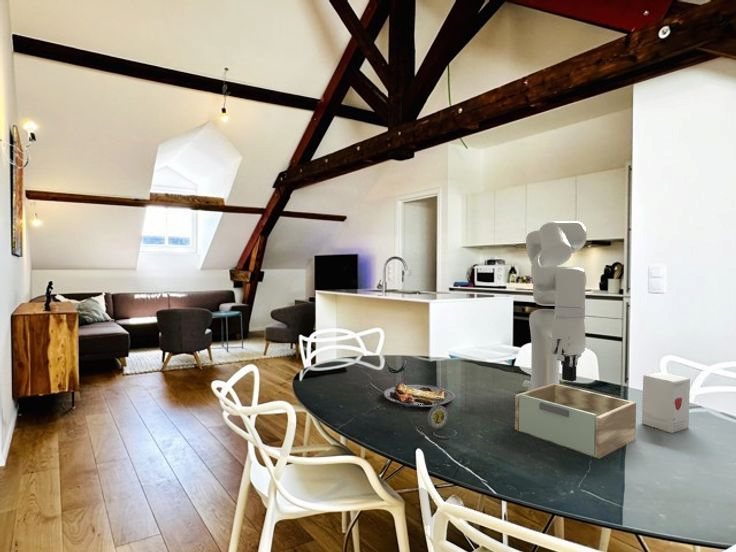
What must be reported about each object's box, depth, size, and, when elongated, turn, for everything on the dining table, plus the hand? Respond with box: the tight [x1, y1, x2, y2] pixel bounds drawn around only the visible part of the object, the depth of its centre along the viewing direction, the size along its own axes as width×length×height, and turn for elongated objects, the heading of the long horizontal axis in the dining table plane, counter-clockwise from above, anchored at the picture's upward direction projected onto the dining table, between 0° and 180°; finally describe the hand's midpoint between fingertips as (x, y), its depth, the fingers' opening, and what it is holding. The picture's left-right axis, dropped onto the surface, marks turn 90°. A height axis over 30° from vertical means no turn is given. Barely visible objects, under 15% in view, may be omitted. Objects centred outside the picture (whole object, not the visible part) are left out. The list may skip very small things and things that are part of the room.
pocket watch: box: [427, 397, 458, 440], centre depth 130 cm, size 8×8×10 cm
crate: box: [514, 383, 637, 460], centre depth 127 cm, size 24×20×11 cm
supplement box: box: [641, 371, 691, 434], centre depth 136 cm, size 9×9×15 cm
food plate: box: [382, 382, 456, 408], centre depth 163 cm, size 25×23×4 cm
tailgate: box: [519, 393, 597, 457], centre depth 121 cm, size 21×2×10 cm, turn 37°
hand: (569, 380), depth 125 cm, fingers closed
